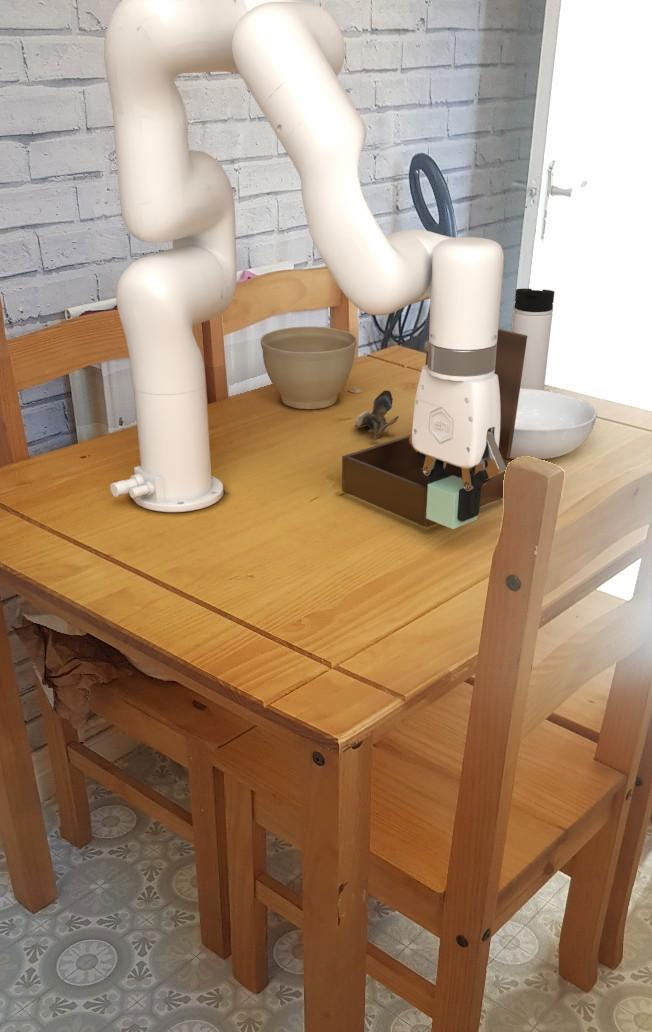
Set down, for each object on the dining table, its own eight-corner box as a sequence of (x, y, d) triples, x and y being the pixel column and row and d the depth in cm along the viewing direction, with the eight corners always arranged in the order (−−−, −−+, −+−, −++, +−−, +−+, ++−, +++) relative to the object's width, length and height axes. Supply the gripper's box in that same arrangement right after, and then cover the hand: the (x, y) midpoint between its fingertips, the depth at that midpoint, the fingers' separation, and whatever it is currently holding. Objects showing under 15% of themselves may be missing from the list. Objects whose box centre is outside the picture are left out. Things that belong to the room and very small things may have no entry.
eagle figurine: (411, 435, 162) (402, 407, 168) (388, 401, 157) (380, 374, 164) (369, 460, 164) (362, 431, 170) (346, 427, 160) (340, 399, 166)
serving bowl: (620, 460, 156) (627, 416, 152) (507, 485, 147) (512, 438, 144) (534, 421, 171) (538, 379, 168) (427, 441, 163) (430, 398, 159)
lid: (523, 336, 131) (550, 331, 134) (430, 312, 142) (456, 309, 145) (506, 459, 139) (531, 452, 142) (419, 428, 150) (444, 422, 153)
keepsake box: (426, 532, 134) (428, 490, 131) (341, 495, 144) (342, 456, 141) (504, 501, 143) (508, 461, 140) (418, 468, 153) (420, 431, 150)
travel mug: (501, 413, 175) (513, 289, 164) (507, 401, 180) (518, 281, 169) (538, 416, 173) (552, 292, 162) (543, 404, 178) (557, 283, 168)
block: (452, 529, 122) (454, 494, 120) (425, 518, 125) (427, 484, 123) (477, 519, 125) (480, 485, 123) (450, 508, 128) (452, 475, 125)
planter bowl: (244, 400, 181) (241, 336, 175) (315, 382, 189) (315, 321, 184) (301, 423, 170) (301, 356, 164) (374, 403, 179) (376, 339, 173)
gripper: (384, 350, 118) (380, 499, 128) (497, 381, 107) (484, 542, 117) (430, 338, 122) (423, 484, 132) (543, 368, 112) (526, 524, 121)
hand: (452, 510), depth 124 cm, fingers closed on block, 4 cm apart
